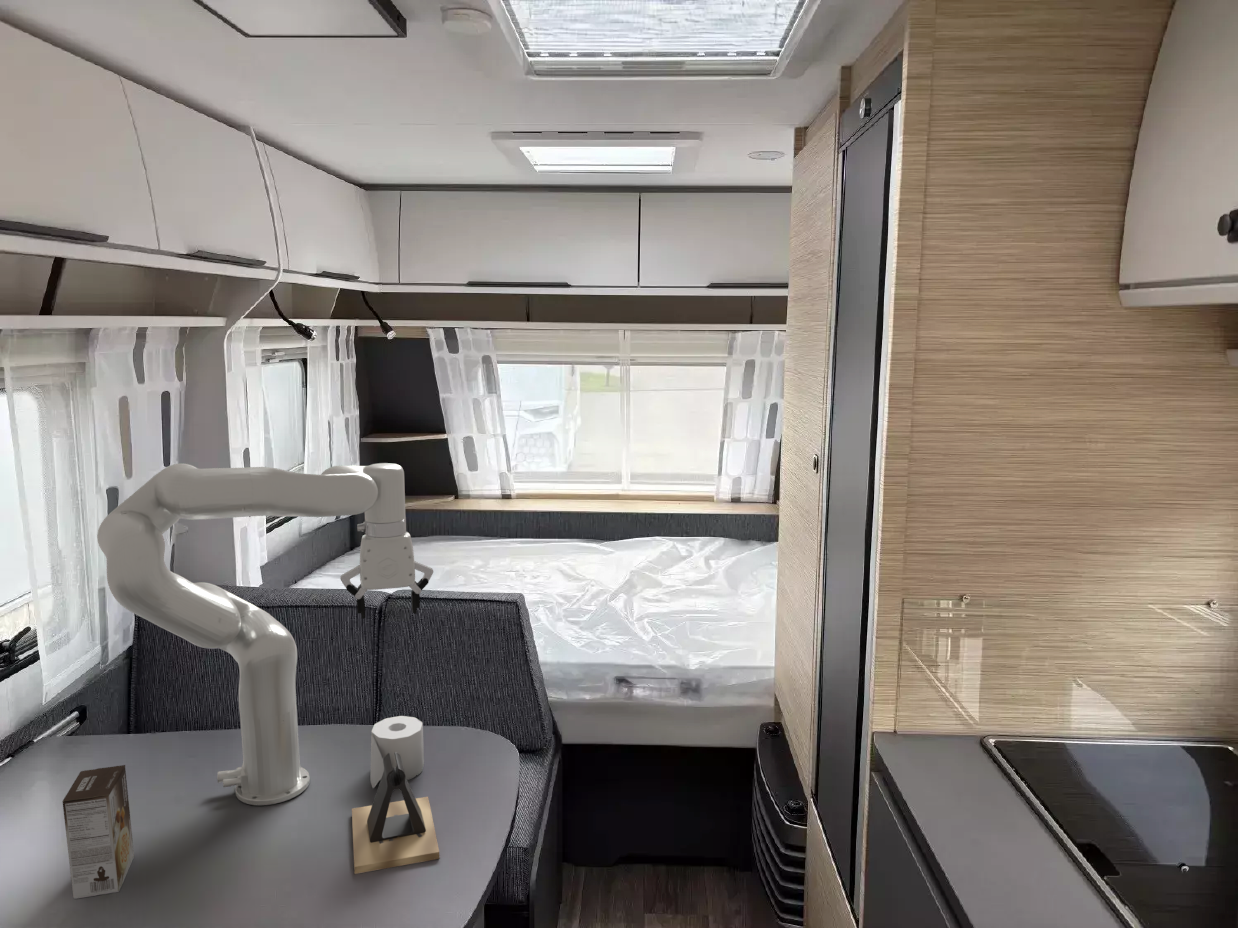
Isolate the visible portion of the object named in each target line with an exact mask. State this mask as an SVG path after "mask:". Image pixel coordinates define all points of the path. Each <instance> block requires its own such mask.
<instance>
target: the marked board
mask: <svg viewBox="0 0 1238 928" xmlns="http://www.w3.org/2000/svg"><path fill="white" fill-rule="evenodd" d="M415 799H416V801H417V803H418V805H419V807H420V809H421V812H422V816H423V820H424V824H425V828H426V832H424V833H420V834H414V835H409V836H404V837H399V836H398V837H397V838H393V839H388V840H383V841H378V842H372V843H371V842H370V839H369V831H368V824H367V819H368V816H369V813H370V810H371V808H372V805H373V804H371V805H366V806H365V805H364V806H360V807H354V808H353V807H352V808H351V817H352V818H351V820H352V822H351V824H352V825H351V826H352V842H353V845H352V846H353V866H354V867H353V868H354V870H353V871H354V875H358V874H363V873H367V872H372V871H379V870H384V869H389V868H395V867H402V866H407V865H411V864H412V865H413V864H418V863H423V862H429V861H434V860H439V859H440V858H441V857H440V849H439V843H438V840H437V833H436V829H435V824H434V820H433V819H434V818H433V814H432V807H431V805H430V800H429V796H424V797H422V796H421V797H417V798H416V797H415ZM403 814H409V813H408V810H407V807H406V804H405V801H404V799H403V800H396V801H392V802H391V801H390V804H389V808H388V812H387V816H386V818H387V817H392V816H398V815H403Z"/></svg>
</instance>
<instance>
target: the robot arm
mask: <svg viewBox="0 0 1238 928" xmlns="http://www.w3.org/2000/svg"><path fill="white" fill-rule="evenodd" d="M363 513H364V521H363V523H358V524H356V525H357V527H356V528H357V532H363V533H364V535H361V536H362V537H361V540H360V541H361V542H360V550H359V565H357V566H355V567H353V568H352V569H350V570H347V571H346V572H344V573H342V574H341V575H340V576H339V577H340V579H339V580H340V581H341V582H342V584H343V586H344V588H345V589H346V591H347V592H349V593H350V594H351V595H353V597H355V599H356V612H357V614H358V615H359V614H360V617H361V620H363V619H366V604H365V603H366V602H365V601H366V599H365V593H366V592H367V591H376V590H386V589H388V590H389V589H390V590H391V589H398V588H399V589H401V588H407V587H409V588H410V589H411V591H410V596H411V601H410V602H411V611H412V614H414V615H417V614H418V613H417V611H418V610H417V609H420V607H421V600H420V594H421V593H422V591H423V590H424V589H425V587H426V586H427V585H428V584H429V582H430V580H431V578H432V576H433V573H434V569H433V568H432V567H430V566H428V565H425V564H423V563H421V562H419V561H416V560H415V555H414V554H415V553H414V544H413V542H412V537H411V534H410V533H409V532H408V531H407V517H406V493H405V471H404V469H403V467H402V466H401V465H399V464H397V463H388V462H379V463H372V464H370V465H342V464H341V465H340V464H339V465H333V466H330V467H328V468H327V469H325V470H323V471H322V472H321V474H312V473H301V472H295V471H290V470H285V469H281V468H276V467H269V466H268V467H267V466H250V467H221V468H219V467H214V468H213V467H211V468H198V467H196V466H194V465H192V464H189V463H183V462H182V463H175V464H171V465H168V466H167V467H165V468H162V469H161V470H160V471H159V472H158V473H156V474H155V475H154V476H153V477H152V478H150V479H148V481H146V482H145V483H144V484H143V485H142V486H141V487H139V488H138V489H137V490H135V491H134V492H133V493H132V494H131V495H130V496H129V497H128V498H126V499H125V500H124V501H123V502H121V503H120V504H119V505H118V506H116V507H115V508H114V509H113V510H112V511H111V512H110V513H109V514H108V515H107V516H105V517H104V519H103V520H102V522H101V523H100V525H99V527H98V529H97V534H96V535H97V536H96V537H97V544H98V546H99V548H100V550H101V552H102V553H103V554H104V556H105V557H106V558H105V559H106V580H107V584H108V589H110V593H111V594H112V596H113V597H114V599H115V601H116V602H117V603H118V604H119V605H120V606H121V607H122V608H125V609H126V610H127V611H129V612H131V613H133V614H134V615H136V616H138V617H141V619H145V620H146V621H148V622H150V623H152V624H153V625H156V626H158V627H159V628H161V629H163V630H166V631H168V632H170V633H172V634H174V635H175V636H178V637H180V638H182V639H183V640H185V641H187V642H189V643H191V644H193V645H194V646H196V647H199V648H202V649H203V648H204V649H212V650H213V649H220V650H222V651H224V652H226V653H228V654H229V655H231V656H232V657H233V659H234V660H235V662H236V663H237V665H238V669H239V681H238V711H239V712H238V713H239V717H240V718H239V721H240V733H241V737H240V738H241V747H242V748H241V749H242V750H241V752H242V765H241V766H239V767H236V769H231V770H222V771H217V774H216V775H217V776H216V777H217V778H216V779H217V783H218V784H220V783H222V786H223V788H228V787H232V786H233V787H234V786H235V796H236V798H237V800H238V801H240V802H242V803H243V804H248V805H252V806H269V805H270V806H271V805H275V804H276V805H277V804H279V803H283V802H286V801H289V800H291V799H294V798H295V797H297V796H299V795H301V793H303V792H304V791H305V790H306V789H307V788H308V787H309V784H310V782H311V781H310V780H311V779H310V773H309V771H308V770H306V769H305V768H304V767H302V766H301V762H300V746H299V745H300V744H299V742H300V741H299V727H298V726H299V725H298V709H297V708H298V707H297V693H296V673H297V664H298V663H297V662H298V648H297V645H296V644H297V643H296V641H295V639H294V637H293V635H292V634H291V632H290V631H289V629H287V628H286V627H285V626H284V625H283V624H282V623H281V622H280V621H278V620H277V619H276V618H275V617H273V616H272V615H271V614H270V613H268V612H267V611H266V610H263V609H262V608H260V607H258V606H256V605H254V604H252V603H251V602H249V601H247V600H245V599H243V598H241V597H239V596H237V595H236V594H233V593H232V592H229V591H228V590H226V589H225V588H222V587H220V586H218V585H216V584H213V583H209V582H204V581H202V582H201V581H200V582H199V581H198V582H192V581H190V580H189V579H187V578H185V577H183V576H181V575H180V574H178V573H175V572H173V571H171V570H170V569H168V567H167V566H166V562H165V552H166V544H165V542H166V541H165V538H164V536H163V534H164V533H165V532H167V531H168V530H169V529H170V528H171V527H173V526H174V525H175V524H176V523H177V522H178V521H179V520H180V519H182V520H189V521H191V520H193V521H196V520H213V519H214V520H215V519H231V518H233V519H234V518H244V517H245V518H246V517H266V516H268V517H280V518H281V517H282V518H283V517H303V518H304V517H305V518H326V517H329V518H330V517H342V516H354V515H359V514H363ZM416 571H418V572H422V573H423V576H422V578H421V579H420V580H418V582H417V581H416ZM358 575H359V580H360V582H359V583H360V584H359V585H358V586H357V587H356V585H354V584H353V583H352V581H351V579H352V578H355V577H356V576H358Z"/></svg>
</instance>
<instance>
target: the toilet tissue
mask: <svg viewBox="0 0 1238 928" xmlns="http://www.w3.org/2000/svg"><path fill="white" fill-rule="evenodd" d="M423 723H424V722H423V721H421V720H420V719H418V718H416V717H413V716H406V715H398V716H393V717H387V718H384V719H382V720H380V721H378V722H376V723H374V725H373V727H372V729H371V734H370V735H371V738H370V739H371V740H370V773H369V774H370V785H371V787H372V789H375V788H376V786H377V785H378V783H380V781H381V778H382V775H383V772H384V764H383V759H384V757H385V756H386V755H387V754H388V753H389V754H390V758H391V762H392V767H393V768H394V767H396V766H397V763H396V759H395V754H394V753H395V752H397V753H398V754H400V756H401V759H402V763H403V767H404V771H405V776H406V779H407V781H408V780H411V779H413V778H415V777H417V776H418V775H419V774H421V773H422V772H423V770H424V769H423V768H424V765H425V762H424V761H425V760H424V759H425V758H424V756H425V755H424V727H423ZM416 775H417V776H416Z"/></svg>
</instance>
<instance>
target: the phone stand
mask: <svg viewBox="0 0 1238 928" xmlns="http://www.w3.org/2000/svg"><path fill="white" fill-rule="evenodd" d="M394 754H395V759H396V763H397V766H396V767H394V768H393V767H392V762H391V758H390V754H389V753H388V754H387V755H386V756H385V757H384V759H383V764H384V772H383V775H382V778H381V780H379V784H378V787H377V789H376V793H375V796H374V800H373V801H372V804H371V805H372V808H371V810H370V813H369V816H368V819H367V824H368V831H369V839H370V842H371V843H372V842H378V841H383V840H388V839H393V838H397V837H398V836H399V837H404V836H409V835H414V834H420V833H424V832H426V828H425V824H424V820H423V816H422V812H421V809H420V807H419V805H418V803H417V801H416V797H415V795H414V792H413V790H412V788H411V785H410V783H409V781H408V780H407V779H406V776H405V771H404V767H403V763H402V759H401V756H400V754H398V753H397V752H395V753H394ZM395 790H398V791H400V792H401V796H402V798H403V800H404V801H405V804H406V807H407V810H408V813H409V814H403V815H398V816H392V817H387V818H386V816H387V812H388V808H389V804H390V802H391V799H392V795H393V792H394V791H395Z"/></svg>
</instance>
